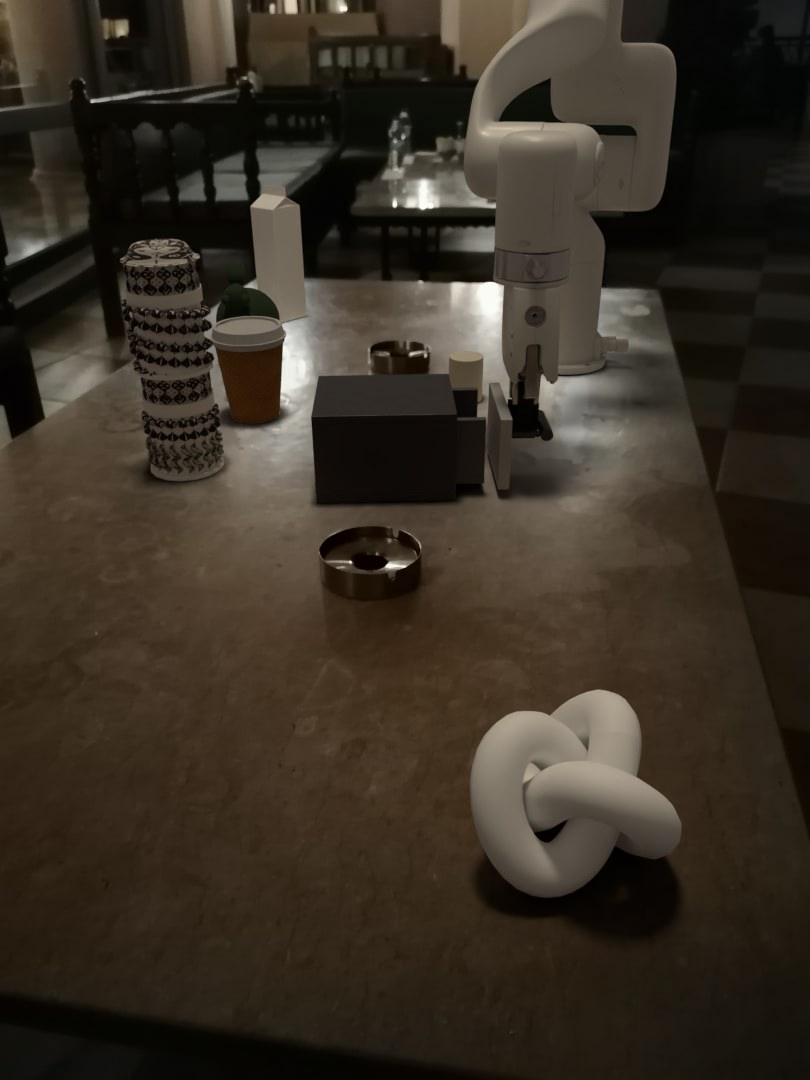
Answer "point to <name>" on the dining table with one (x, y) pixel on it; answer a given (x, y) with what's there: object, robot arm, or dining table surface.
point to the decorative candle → (172, 359)
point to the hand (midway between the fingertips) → (521, 435)
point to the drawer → (488, 436)
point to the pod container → (466, 370)
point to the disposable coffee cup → (250, 365)
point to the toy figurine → (243, 297)
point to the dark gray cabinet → (384, 438)
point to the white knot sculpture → (566, 794)
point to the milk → (279, 251)
